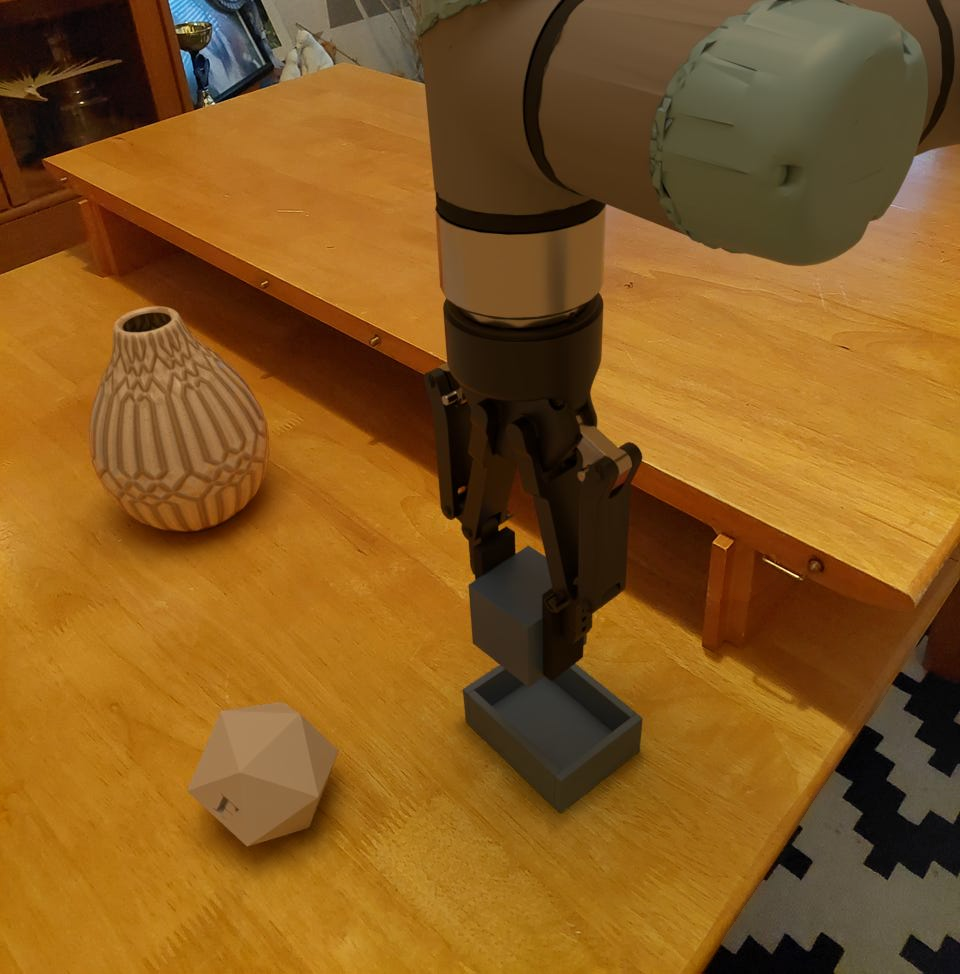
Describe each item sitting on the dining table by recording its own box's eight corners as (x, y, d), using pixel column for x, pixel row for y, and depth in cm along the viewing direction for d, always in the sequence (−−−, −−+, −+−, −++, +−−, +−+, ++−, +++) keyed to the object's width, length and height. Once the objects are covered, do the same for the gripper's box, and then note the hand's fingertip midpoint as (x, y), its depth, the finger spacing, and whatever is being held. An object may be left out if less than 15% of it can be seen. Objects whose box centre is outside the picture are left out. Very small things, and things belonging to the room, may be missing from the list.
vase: (246, 564, 83) (194, 370, 71) (84, 551, 86) (8, 361, 74) (303, 462, 96) (267, 282, 84) (160, 452, 98) (105, 277, 86)
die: (202, 781, 66) (140, 787, 56) (284, 679, 67) (237, 668, 58) (290, 861, 64) (241, 882, 54) (373, 755, 65) (339, 757, 56)
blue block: (586, 643, 57) (588, 584, 54) (529, 688, 54) (527, 628, 51) (529, 603, 60) (528, 544, 57) (472, 643, 57) (467, 584, 54)
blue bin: (640, 750, 65) (643, 717, 63) (560, 814, 62) (560, 781, 59) (542, 668, 72) (542, 636, 70) (465, 721, 68) (462, 688, 66)
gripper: (733, 325, 39) (685, 688, 54) (456, 221, 50) (476, 545, 64) (616, 392, 36) (598, 765, 50) (343, 264, 47) (391, 598, 61)
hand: (529, 640), depth 57 cm, fingers closed on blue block, 5 cm apart
